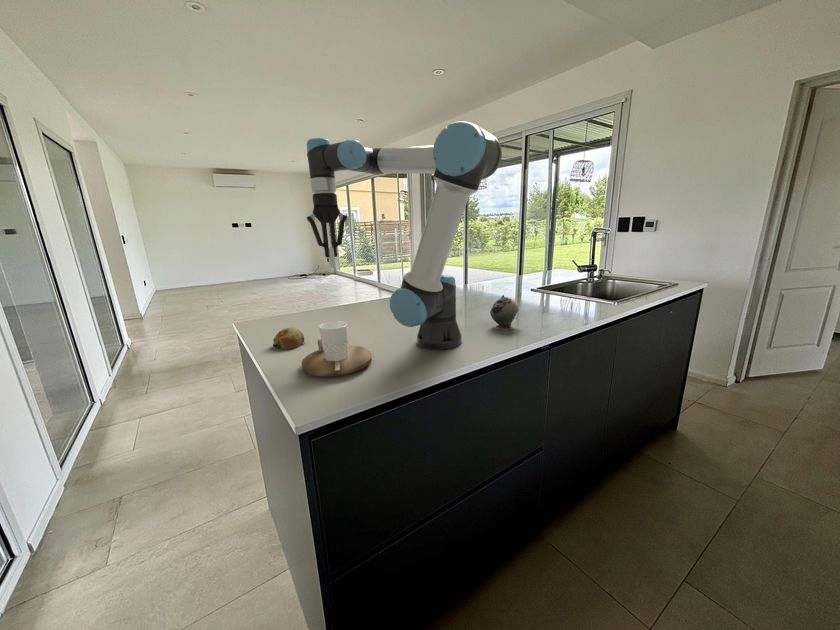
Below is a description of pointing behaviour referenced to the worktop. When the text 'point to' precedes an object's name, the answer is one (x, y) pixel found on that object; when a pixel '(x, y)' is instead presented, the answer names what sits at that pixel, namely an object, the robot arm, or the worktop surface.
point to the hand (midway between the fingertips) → (332, 267)
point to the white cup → (335, 340)
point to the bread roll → (288, 339)
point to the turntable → (336, 362)
